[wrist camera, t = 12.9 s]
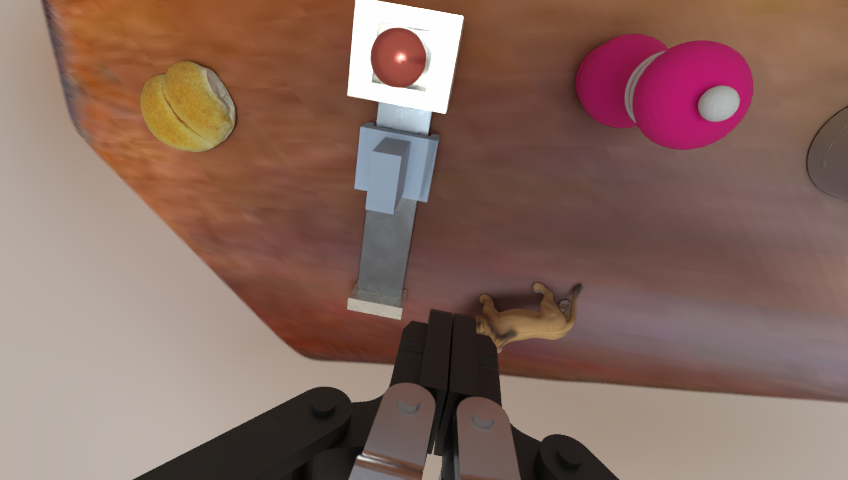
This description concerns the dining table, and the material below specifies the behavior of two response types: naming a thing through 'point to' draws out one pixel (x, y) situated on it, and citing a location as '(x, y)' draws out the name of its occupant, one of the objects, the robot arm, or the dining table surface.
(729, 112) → the pepper mill
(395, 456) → the robot arm
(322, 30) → the dining table surface
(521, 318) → the lion figurine
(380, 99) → the rail station
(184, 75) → the bread roll
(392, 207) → the carriage
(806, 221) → the dining table surface
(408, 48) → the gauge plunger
